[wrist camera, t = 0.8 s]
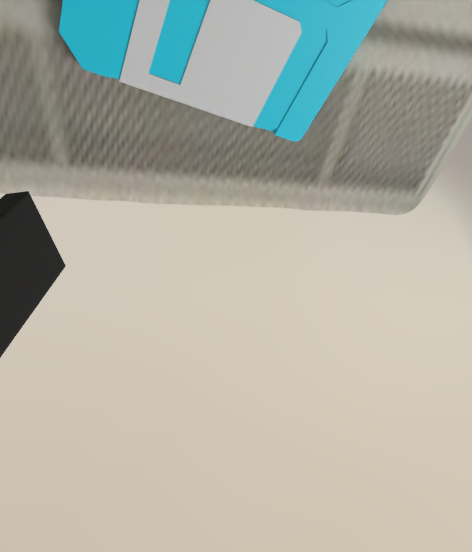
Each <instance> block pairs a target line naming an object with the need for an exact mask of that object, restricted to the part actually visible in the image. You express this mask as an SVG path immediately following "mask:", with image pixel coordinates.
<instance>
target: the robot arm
mask: <svg viewBox="0 0 472 552" xmlns="http://www.w3.org/2000/svg"><path fill="white" fill-rule="evenodd" d="M64 267H65V264H64V262H63V260H62V258H61V256H60V254H59V252H58V250H57V248H56V246H55V244H54V242H53V240H52V238H51V236H50V234H49V232H48V230H47V228H46V226H45V224H44V222H43V220H42V218H41V216H40V214H39V212H38V210H37V208H36V206H35V204H34V202H33V200H32V198H31V196H30V194H29V192H28V191H27V192H19V193H11V194H6V195H4V196H3V197H2V198H1V199H0V357H1V356H2V354H3V353H4V351H5V350H6V349H7V347H8V346H9V344H10V343H11V342H12V340H13V339H14V337H15V336H16V334H17V333H18V332H19V330H20V329H21V328H22V326H23V325H24V323H25V322H26V320H27V319H28V318H29V316H30V315H31V313H32V312H33V311H34V309H35V308H36V307H37V305H38V304H39V302H40V301H41V300H42V298H43V297H44V295H45V294H46V292H47V291H48V290H49V288H50V287H51V286H52V284H53V283H54V281H55V280H56V278H57V277H58V276H59V274H60V273H61V272H62V270H63V269H64Z"/></svg>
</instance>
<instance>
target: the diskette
mask: <svg viewBox="0 0 472 552" xmlns="http://www.w3.org/2000/svg"><path fill="white" fill-rule="evenodd" d="M387 1H388V0H63V3H62V10H61V18H60V26H59V33H60V34H61V36H62V37H63V39H64V40H65V42H66V44H67V45H68V47H69V48H70V50H71V51H72V53H73V54H74V56H75V58H76V59H77V61H78V62H79V64H80V65H81V67H82V69H85V70H88V71H91V72H93V73H96V74H99V75H102V76H105V77H108V78H110V76H111V77H113V78H116V79H119V80H120V82H122V83H125V84H128V85H131V86H134V87H137V88H140V89H143V90H146V91H149V92H152V93H154V94H157V95H160V96H163V97H166V98H169V99H172V100H175V101H178V102H181V103H183V104H186V105H189V106H192V107H195V108H198V109H201V110H204V111H207V112H210V113H213V114H215V115H218V116H221V117H224V118H227V119H230V120H233V121H236V122H239V123H242V124H244V125H247V126H250V127H253V126H255V127H258V128H261V129H262V128H264V129H267V130H270V131H272V132H274V134H275V135H276V136H279V137H282V138H285V139H288V140H291V141H294V142H296V141H298V140H301V139H302V137H303V135H304V134H305V132H306V131H307V129H308V127H309V126H310V124H311V123H312V121H313V119H314V118H315V116H316V114H317V113H318V111H319V110H320V108H321V106H322V105H323V103H324V102H325V100H326V98H327V97H328V95H329V94H330V92H331V90H332V89H333V87H334V86H335V84H336V82H337V81H338V79H339V78H340V76H341V74H342V73H343V71H344V70H345V68H346V66H347V65H348V63H349V62H350V60H351V58H352V57H353V55H354V53H355V52H356V50H357V49H358V47H359V45H360V44H361V42H362V41H363V39H364V37H365V36H366V34H367V33H368V31H369V29H370V28H371V26H372V25H373V23H374V21H375V20H376V18H377V17H378V15H379V13H380V12H381V10H382V9H383V7H384V5H385V4H386V2H387Z"/></svg>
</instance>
